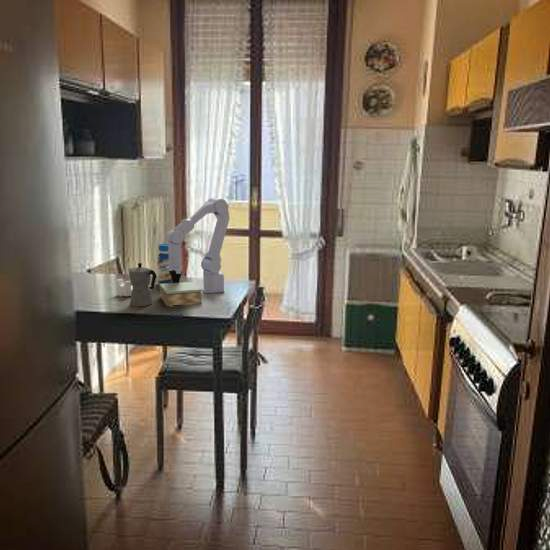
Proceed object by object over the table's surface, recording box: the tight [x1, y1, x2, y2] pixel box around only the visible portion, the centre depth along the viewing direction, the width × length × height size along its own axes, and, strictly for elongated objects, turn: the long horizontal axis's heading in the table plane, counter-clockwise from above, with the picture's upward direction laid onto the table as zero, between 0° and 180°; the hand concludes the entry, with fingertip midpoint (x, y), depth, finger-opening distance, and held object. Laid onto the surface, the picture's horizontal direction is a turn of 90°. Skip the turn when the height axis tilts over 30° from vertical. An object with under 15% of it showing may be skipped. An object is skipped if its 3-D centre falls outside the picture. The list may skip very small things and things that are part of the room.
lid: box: [159, 281, 202, 295], centre depth 241 cm, size 15×16×4 cm
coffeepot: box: [127, 262, 158, 307], centre depth 232 cm, size 15×9×18 cm, turn 61°
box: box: [159, 286, 203, 307], centre depth 240 cm, size 15×15×5 cm
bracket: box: [116, 278, 151, 297], centre depth 251 cm, size 13×7×8 cm, turn 139°
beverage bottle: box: [156, 243, 172, 285], centre depth 271 cm, size 8×8×20 cm
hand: (175, 286), depth 249 cm, fingers closed
